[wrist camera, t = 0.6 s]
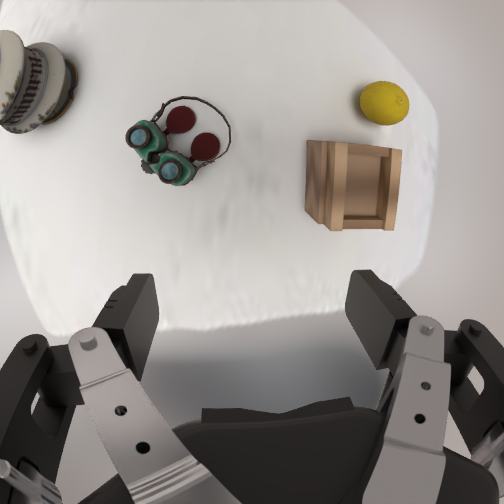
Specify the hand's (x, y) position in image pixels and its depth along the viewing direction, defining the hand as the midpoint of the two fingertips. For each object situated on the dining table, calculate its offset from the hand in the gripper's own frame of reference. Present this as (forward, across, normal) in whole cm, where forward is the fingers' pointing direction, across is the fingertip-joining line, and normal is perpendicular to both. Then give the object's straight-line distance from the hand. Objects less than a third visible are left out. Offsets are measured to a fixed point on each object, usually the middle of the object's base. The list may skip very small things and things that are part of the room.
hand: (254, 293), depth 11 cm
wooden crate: (+25, -13, -1) cm, 28 cm away
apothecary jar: (+26, +26, -16) cm, 40 cm away
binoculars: (+25, +6, -6) cm, 27 cm away
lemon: (+25, -17, -11) cm, 33 cm away
